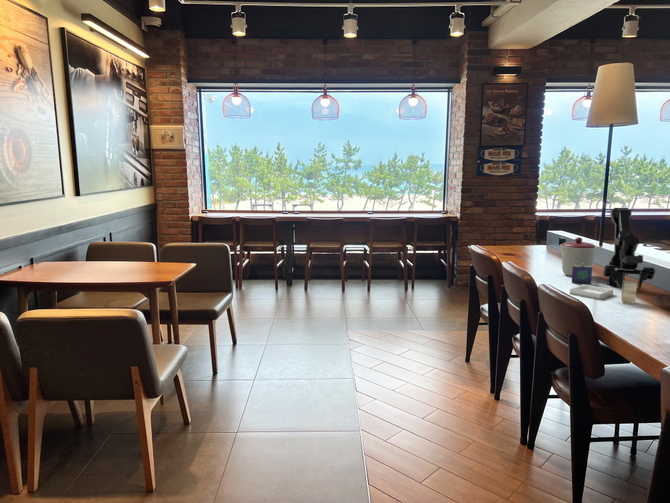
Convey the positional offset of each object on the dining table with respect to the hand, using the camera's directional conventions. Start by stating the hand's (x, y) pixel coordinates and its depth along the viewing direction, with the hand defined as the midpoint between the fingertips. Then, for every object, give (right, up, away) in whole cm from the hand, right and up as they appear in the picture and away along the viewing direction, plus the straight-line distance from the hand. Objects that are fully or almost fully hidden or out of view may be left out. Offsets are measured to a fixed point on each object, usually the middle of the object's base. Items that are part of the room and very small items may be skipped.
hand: (629, 288), depth 203 cm
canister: (+6, +3, +57) cm, 57 cm away
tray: (-8, -4, +16) cm, 19 cm away
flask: (-1, -1, +38) cm, 38 cm away
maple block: (+1, -6, +2) cm, 7 cm away
